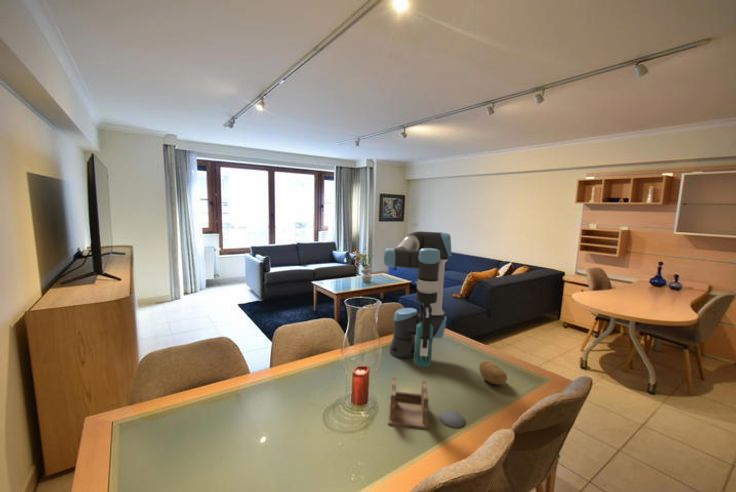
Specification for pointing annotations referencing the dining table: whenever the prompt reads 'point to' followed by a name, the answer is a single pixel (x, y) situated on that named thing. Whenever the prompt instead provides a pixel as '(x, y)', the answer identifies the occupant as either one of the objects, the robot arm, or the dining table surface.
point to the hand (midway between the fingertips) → (422, 351)
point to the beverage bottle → (419, 359)
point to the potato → (492, 372)
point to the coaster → (452, 419)
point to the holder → (408, 408)
